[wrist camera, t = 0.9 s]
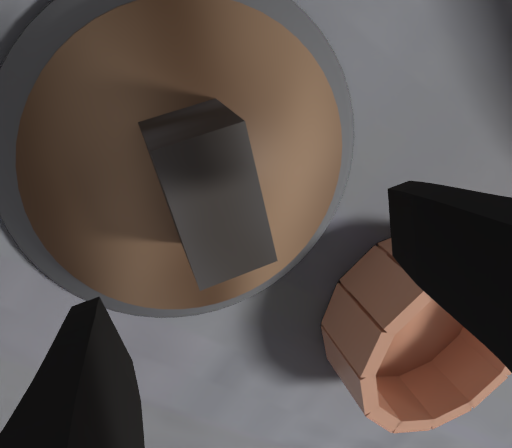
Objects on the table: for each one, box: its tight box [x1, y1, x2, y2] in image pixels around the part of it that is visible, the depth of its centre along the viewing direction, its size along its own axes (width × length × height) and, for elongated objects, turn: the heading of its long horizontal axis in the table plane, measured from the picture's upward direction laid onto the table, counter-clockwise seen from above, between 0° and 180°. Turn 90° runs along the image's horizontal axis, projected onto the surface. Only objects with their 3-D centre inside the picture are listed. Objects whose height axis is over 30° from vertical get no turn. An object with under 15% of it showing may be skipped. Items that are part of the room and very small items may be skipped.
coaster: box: [0, 0, 354, 318], centre depth 17 cm, size 14×14×1 cm
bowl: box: [321, 238, 511, 433], centre depth 24 cm, size 10×10×4 cm
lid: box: [15, 0, 342, 309], centre depth 16 cm, size 12×12×4 cm
